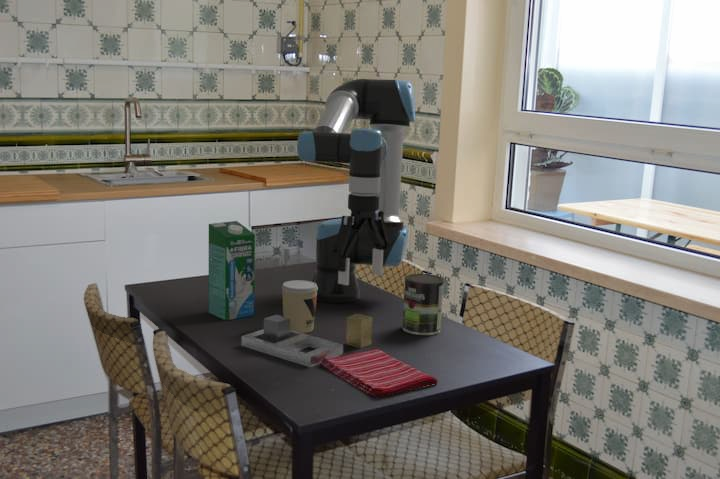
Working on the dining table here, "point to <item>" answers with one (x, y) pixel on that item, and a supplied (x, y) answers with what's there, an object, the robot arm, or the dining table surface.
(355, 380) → the dish towel
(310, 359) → the grey tray
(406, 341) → the dining table surface
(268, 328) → the tall grey box
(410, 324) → the coffee can
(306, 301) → the coffee cup
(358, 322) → the tan rectangular block
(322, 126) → the robot arm
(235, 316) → the milk carton
